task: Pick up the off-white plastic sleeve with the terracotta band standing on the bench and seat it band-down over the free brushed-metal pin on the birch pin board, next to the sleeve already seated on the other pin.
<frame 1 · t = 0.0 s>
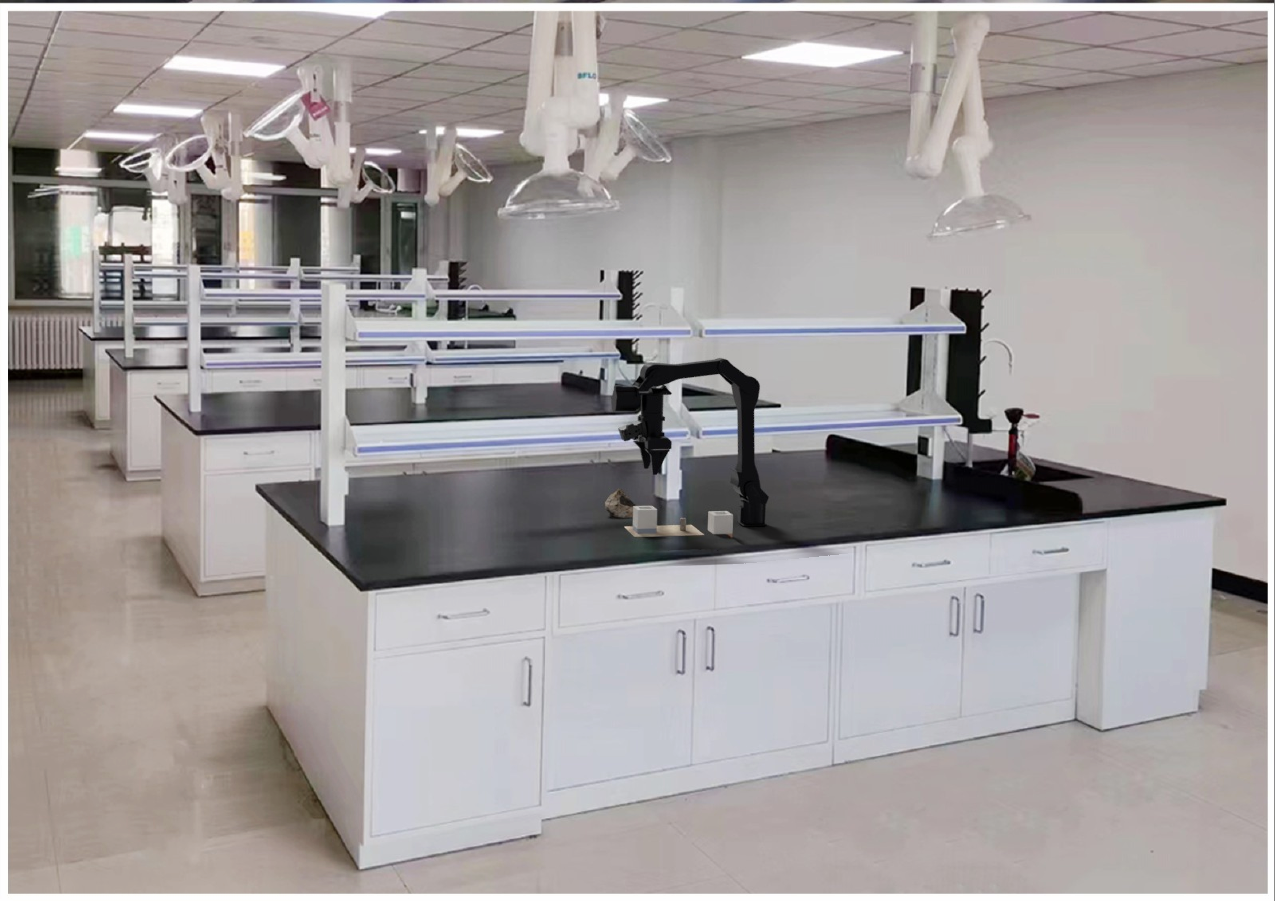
hand: (650, 471, 330), 15 cm above the countertop, fingers open, 9 cm apart
seated sleeve: (644, 531, 322), point 1 cm above the countertop, touching pin board
pin board: (663, 535, 323), on the countertop
rock: (623, 520, 341), on the countertop
banded sleeve: (719, 536, 323), on the countertop
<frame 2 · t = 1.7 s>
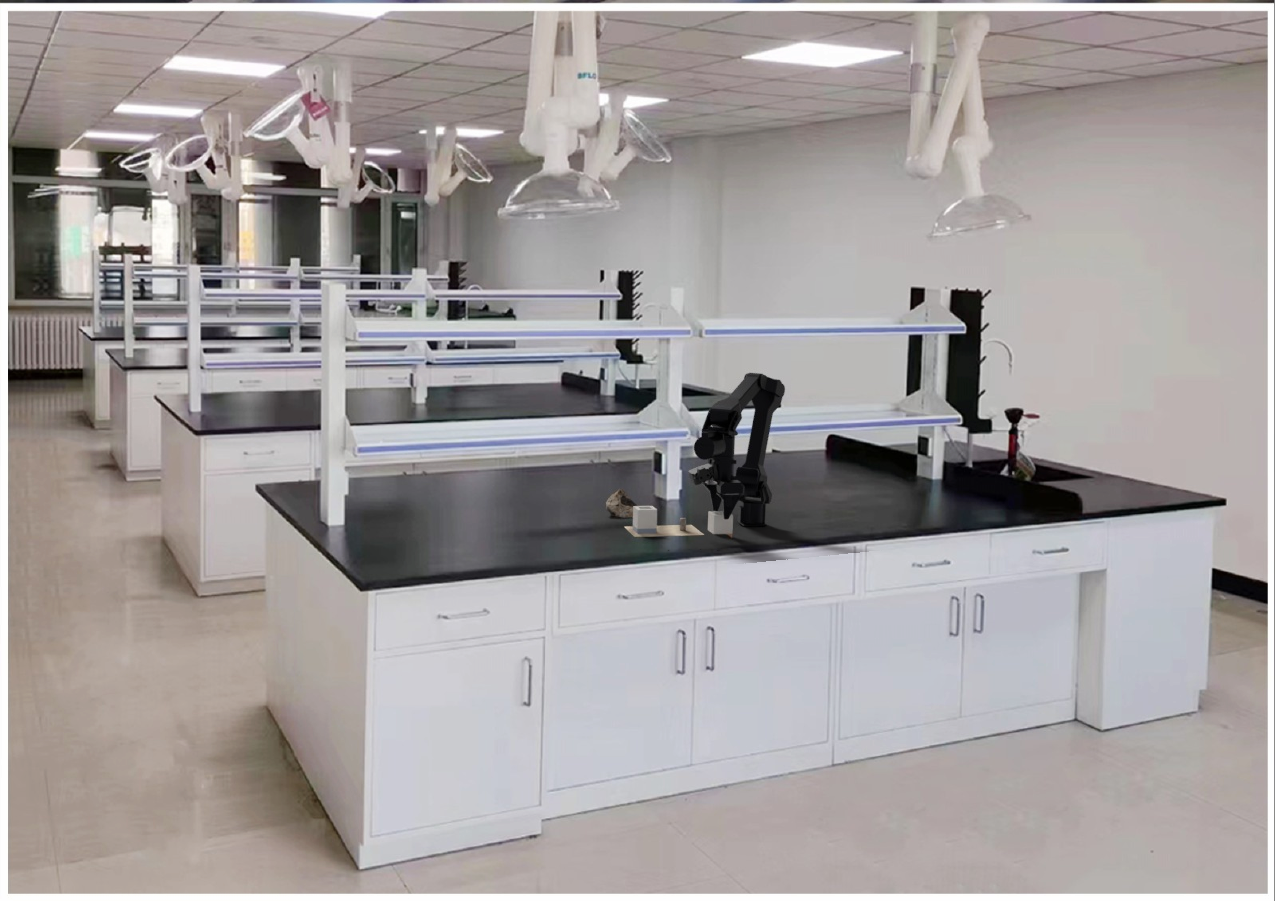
hand: (720, 515, 323), 5 cm above the countertop, fingers open, 9 cm apart
nothing on the countertop moved.
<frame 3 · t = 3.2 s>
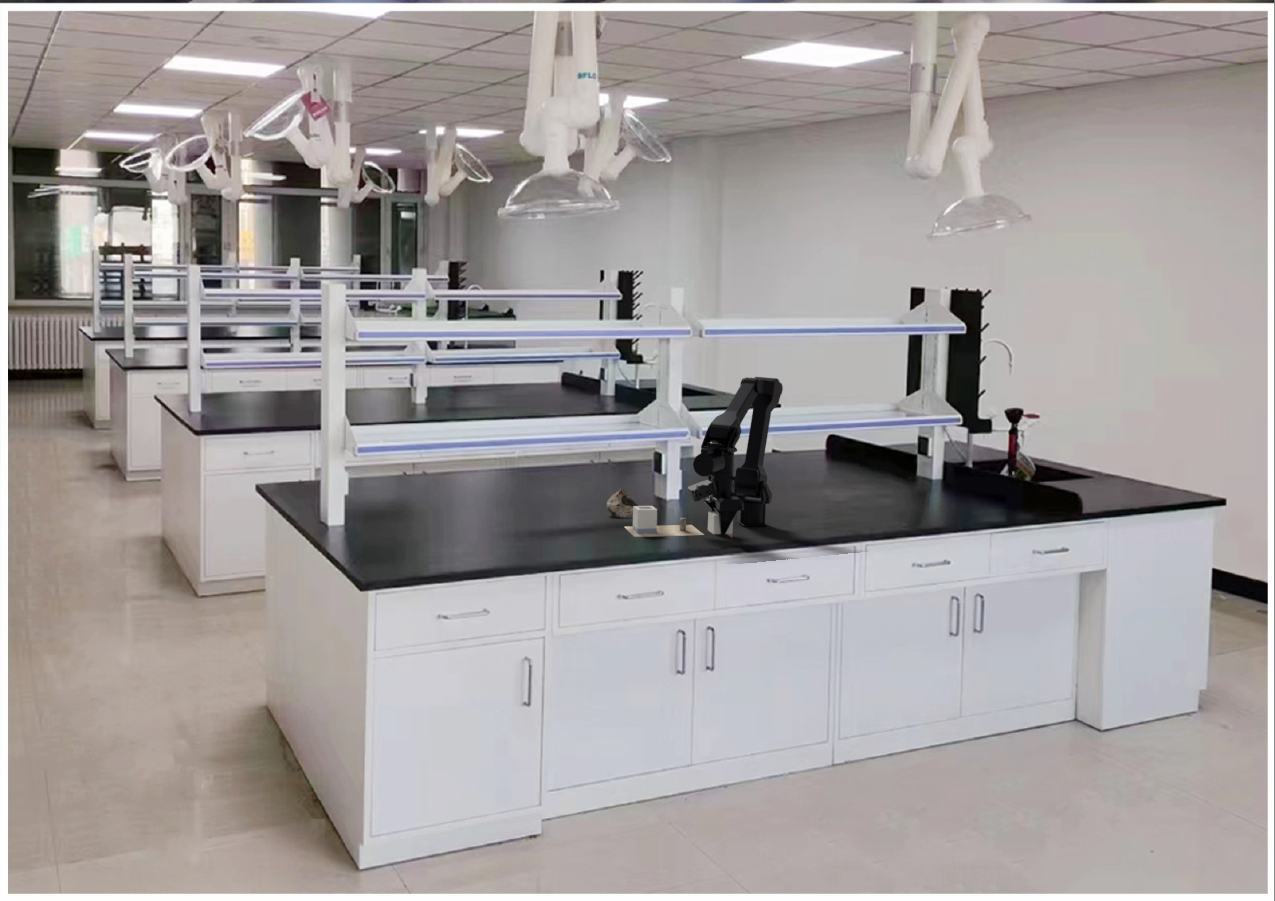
hand: (720, 531, 323), 1 cm above the countertop, fingers closed on banded sleeve, 5 cm apart
banded sleeve: (719, 536, 323), on the countertop, touching gripper
everything else where it was.
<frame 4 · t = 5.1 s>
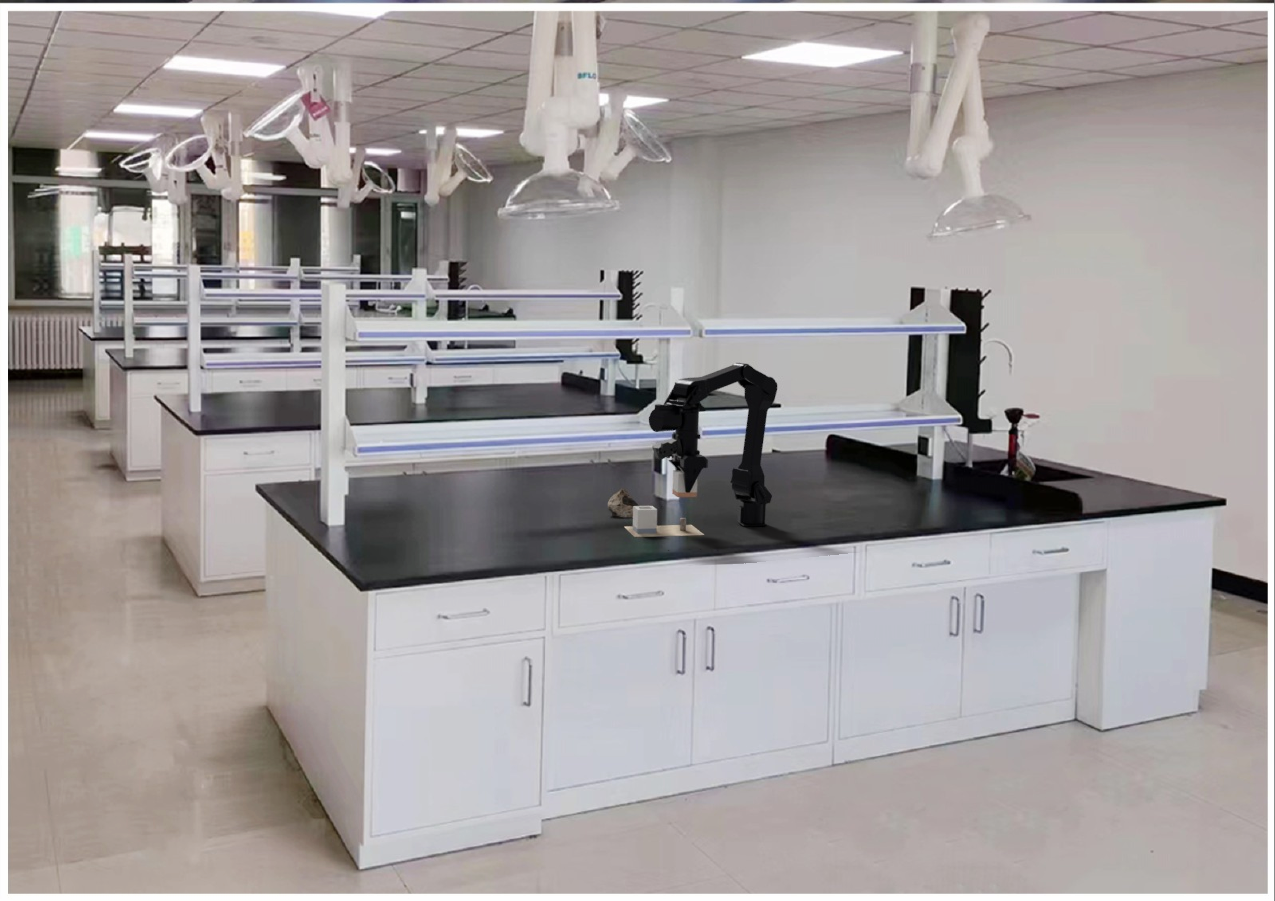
hand: (684, 490, 322), 11 cm above the countertop, fingers closed on banded sleeve, 5 cm apart
banded sleeve: (684, 495, 323), point 10 cm above the countertop, touching gripper
everything else where it was.
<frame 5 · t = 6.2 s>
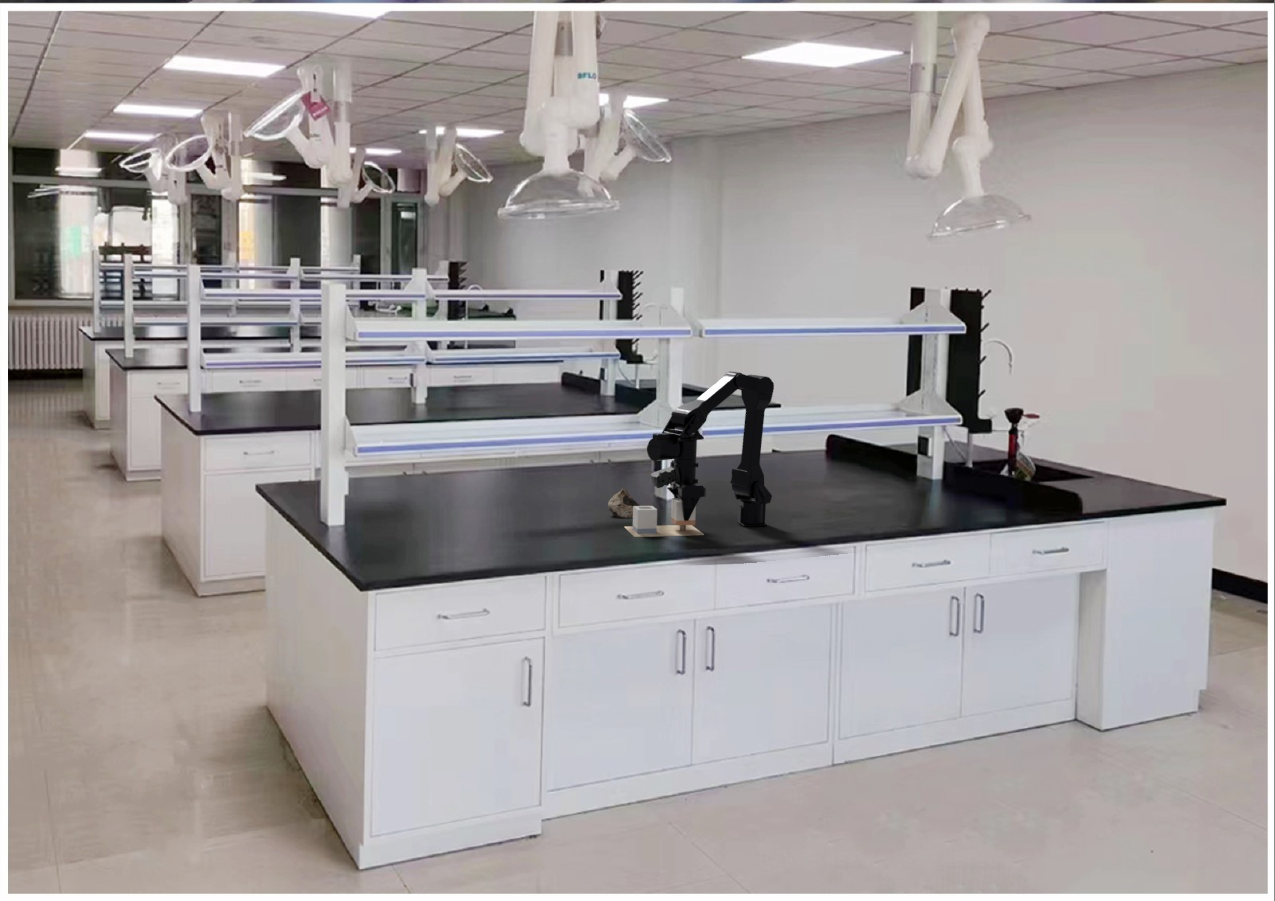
hand: (683, 518, 324), 4 cm above the countertop, fingers closed on banded sleeve, 5 cm apart
banded sleeve: (683, 523, 324), point 3 cm above the countertop, touching gripper
everything else where it was.
when the fingers open (3 cm above the countertop, at t = 7.2 s): banded sleeve stays where it is, resting on pin board.
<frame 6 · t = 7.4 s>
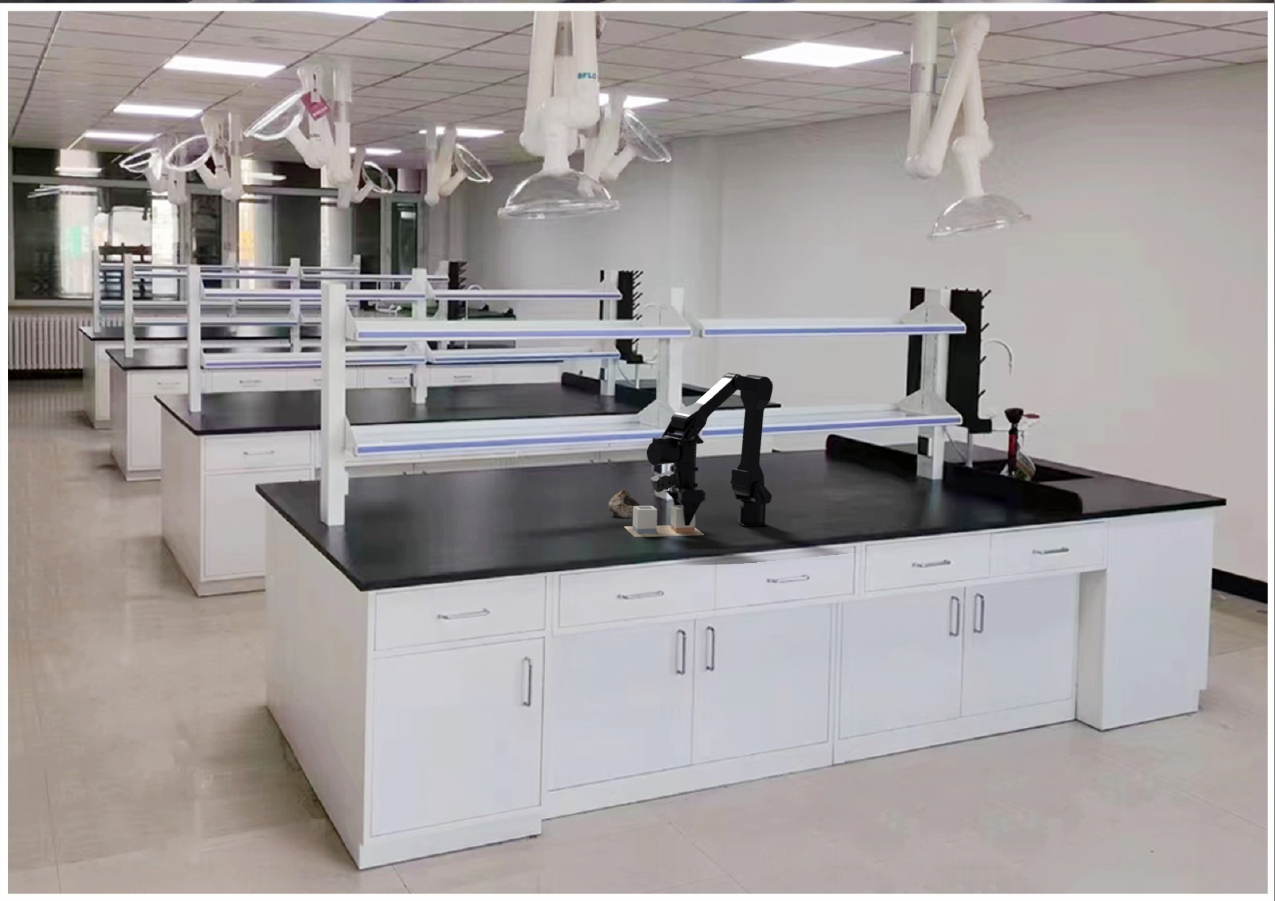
hand: (683, 522, 324), 3 cm above the countertop, fingers open, 7 cm apart
banded sleeve: (682, 530, 324), point 1 cm above the countertop, touching pin board
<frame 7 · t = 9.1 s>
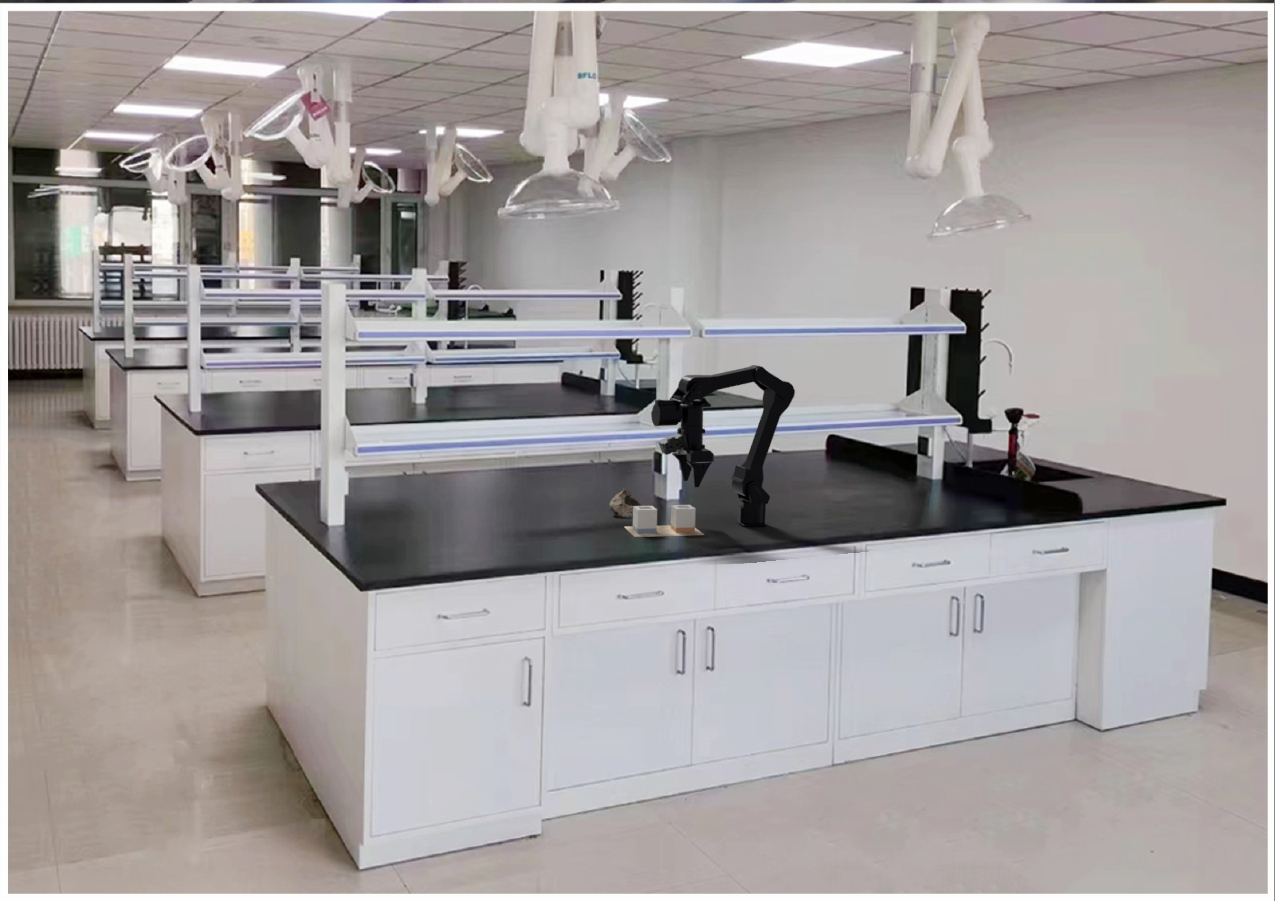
hand: (691, 484, 331), 12 cm above the countertop, fingers open, 9 cm apart
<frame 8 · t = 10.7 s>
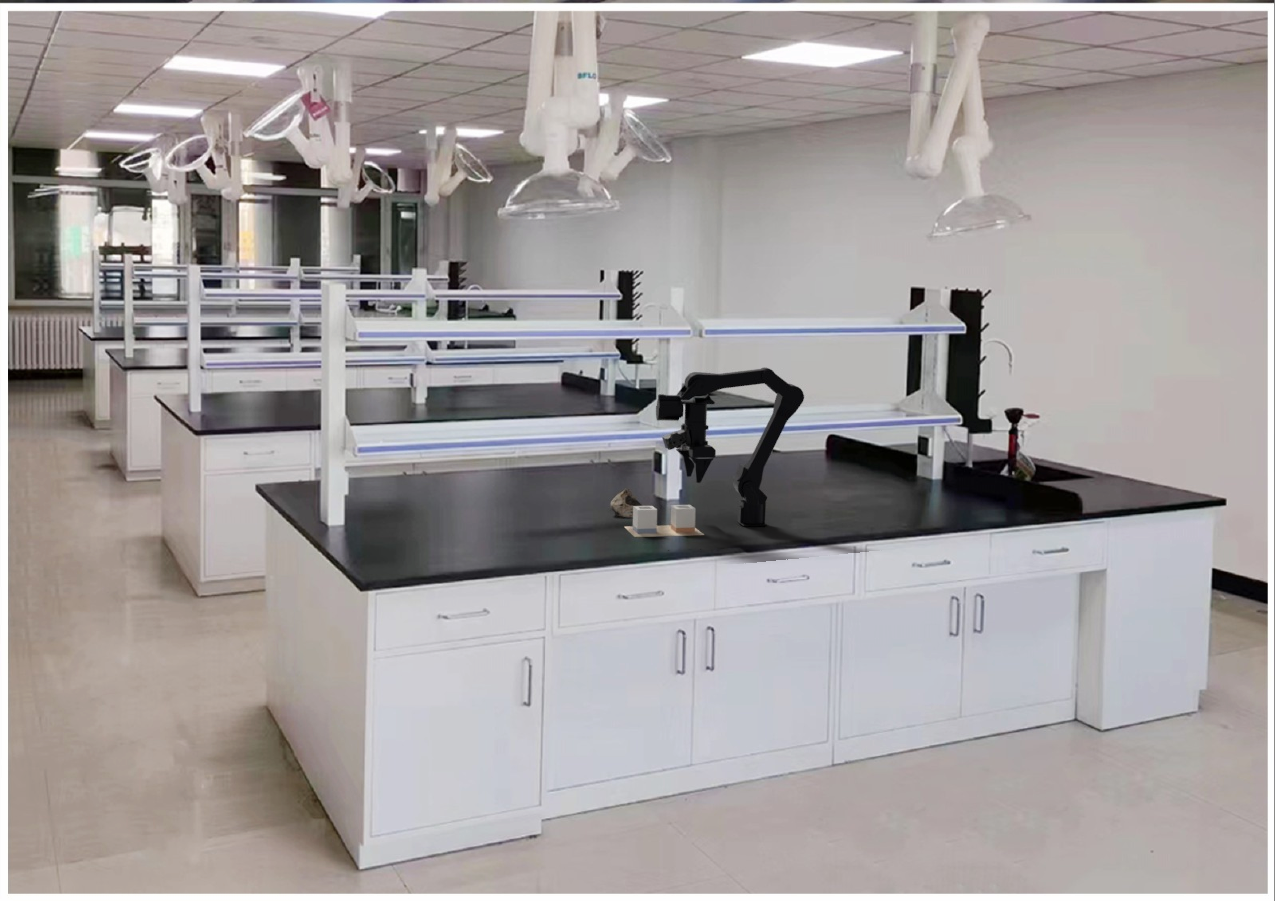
hand: (693, 479, 335), 12 cm above the countertop, fingers open, 9 cm apart
at the end: banded sleeve 0.0 cm from the target spot on the pin board, point 1.2 cm above the pin board's base; banded sleeve tilted 0°; the gripper is holding nothing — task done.
